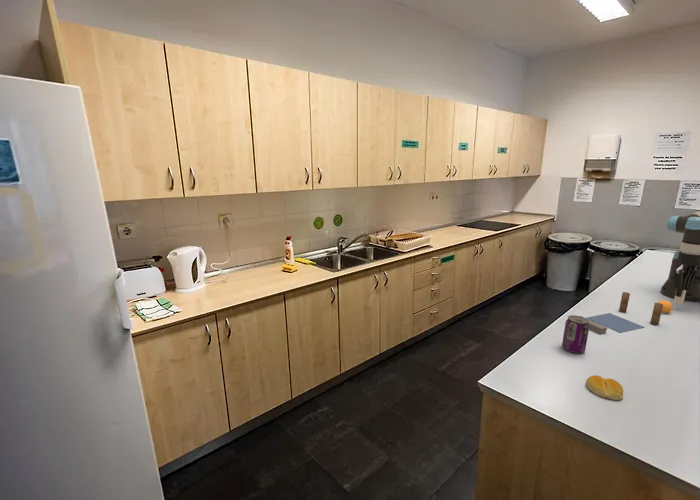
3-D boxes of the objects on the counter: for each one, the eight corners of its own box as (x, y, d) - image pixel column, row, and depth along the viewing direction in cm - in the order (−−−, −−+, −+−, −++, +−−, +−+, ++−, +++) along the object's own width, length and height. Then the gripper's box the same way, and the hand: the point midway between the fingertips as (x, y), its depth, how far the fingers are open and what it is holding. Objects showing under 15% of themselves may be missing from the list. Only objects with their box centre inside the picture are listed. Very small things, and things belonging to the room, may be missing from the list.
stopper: (579, 321, 143) (580, 316, 142) (605, 333, 133) (606, 327, 132) (574, 322, 142) (575, 317, 141) (600, 334, 132) (601, 328, 131)
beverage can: (588, 355, 118) (594, 324, 115) (566, 353, 119) (571, 322, 116) (579, 345, 125) (584, 315, 122) (558, 343, 126) (563, 314, 123)
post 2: (652, 322, 141) (657, 302, 139) (660, 324, 139) (664, 304, 137) (648, 323, 141) (653, 303, 138) (655, 325, 138) (660, 305, 136)
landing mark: (609, 313, 150) (609, 312, 150) (644, 327, 137) (644, 326, 137) (586, 318, 146) (586, 317, 146) (619, 332, 133) (619, 332, 133)
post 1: (621, 310, 153) (625, 291, 151) (627, 312, 151) (631, 293, 148) (617, 311, 152) (621, 292, 150) (623, 313, 150) (627, 294, 148)
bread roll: (584, 379, 106) (587, 368, 105) (620, 389, 101) (623, 377, 100) (585, 394, 99) (587, 382, 98) (624, 405, 94) (627, 392, 93)
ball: (659, 309, 154) (662, 297, 152) (674, 313, 148) (677, 302, 147) (651, 310, 152) (654, 299, 151) (665, 315, 147) (668, 304, 145)
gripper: (690, 249, 152) (677, 298, 157) (670, 251, 148) (658, 301, 154) (711, 253, 145) (697, 304, 151) (692, 256, 141) (678, 308, 147)
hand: (678, 302), depth 152 cm, fingers closed
